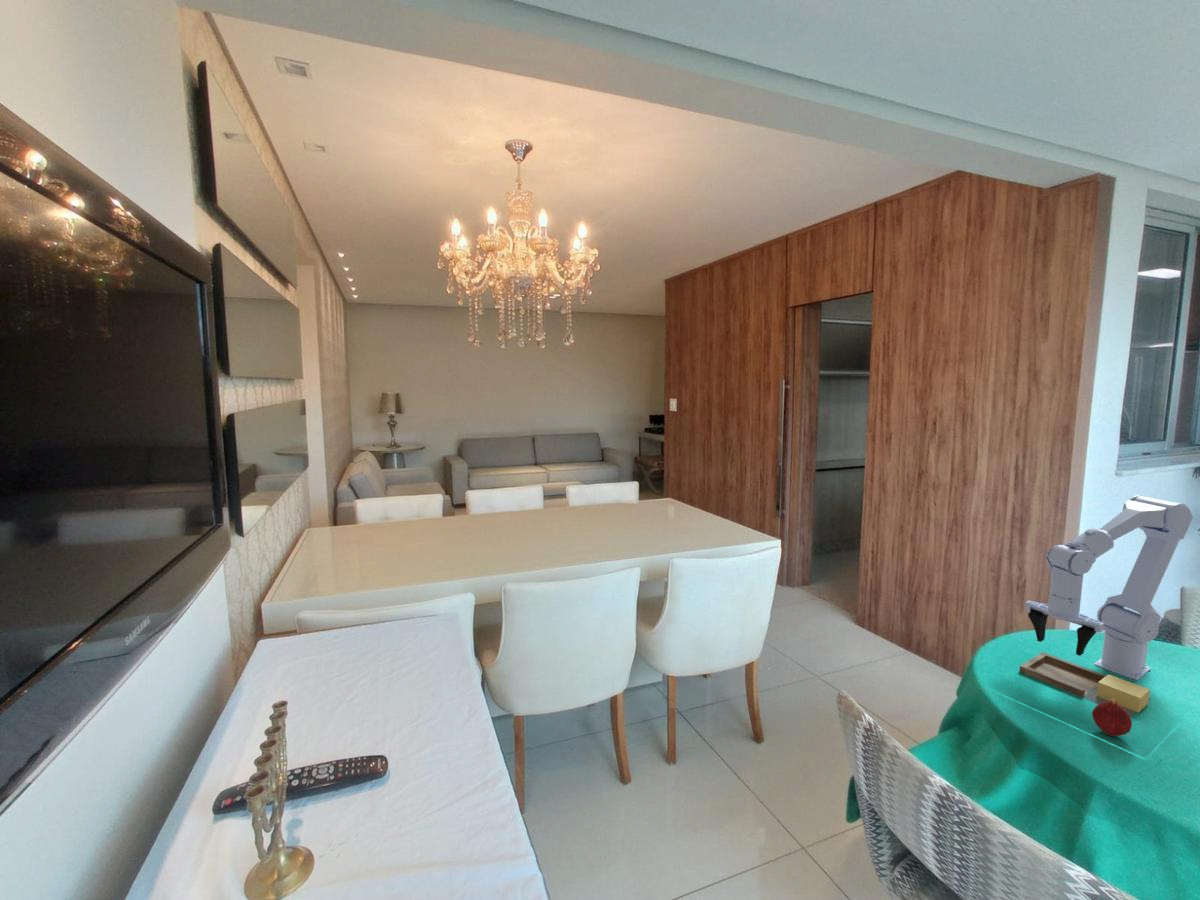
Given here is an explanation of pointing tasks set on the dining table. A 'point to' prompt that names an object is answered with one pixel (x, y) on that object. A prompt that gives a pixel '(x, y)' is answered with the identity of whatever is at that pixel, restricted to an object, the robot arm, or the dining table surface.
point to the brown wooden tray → (1062, 674)
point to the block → (1123, 692)
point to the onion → (1112, 718)
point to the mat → (1103, 700)
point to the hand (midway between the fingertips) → (1059, 647)
